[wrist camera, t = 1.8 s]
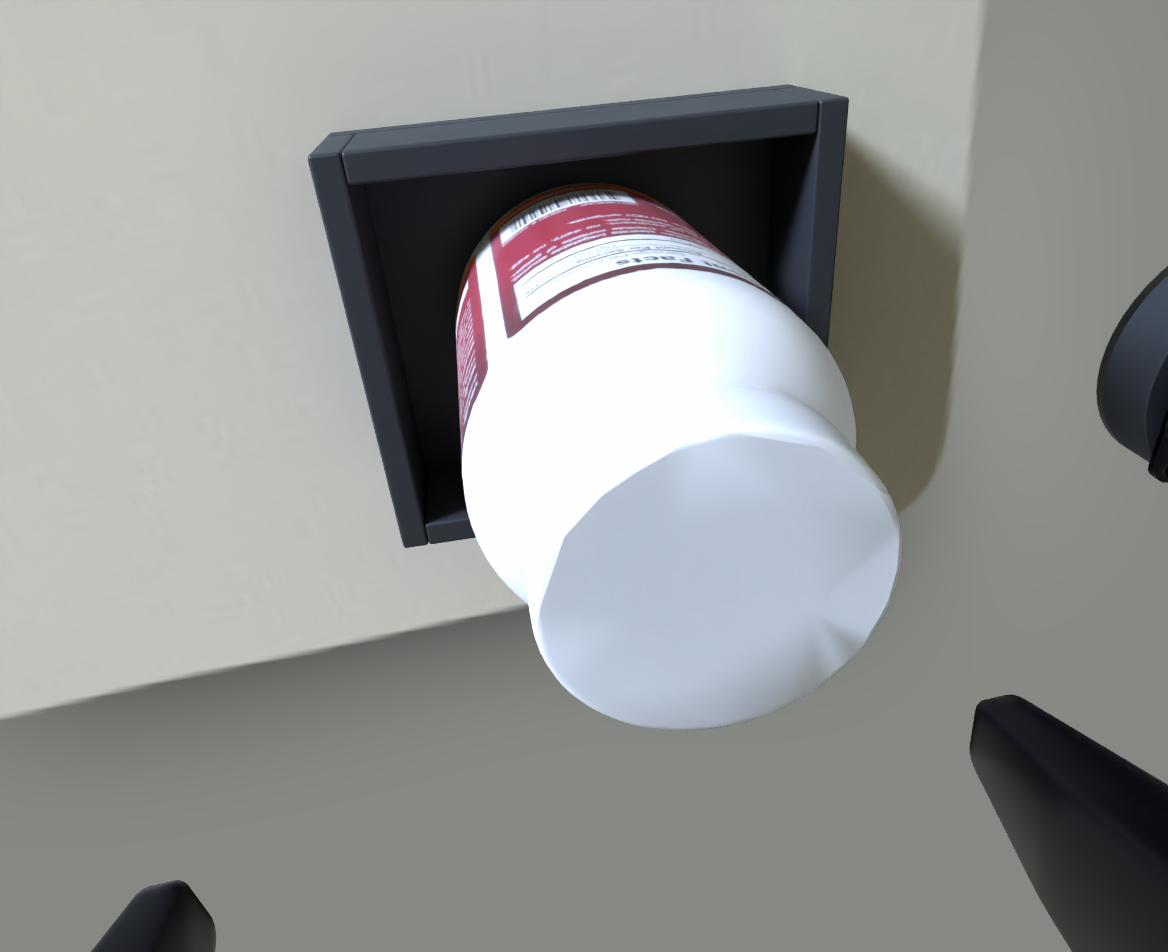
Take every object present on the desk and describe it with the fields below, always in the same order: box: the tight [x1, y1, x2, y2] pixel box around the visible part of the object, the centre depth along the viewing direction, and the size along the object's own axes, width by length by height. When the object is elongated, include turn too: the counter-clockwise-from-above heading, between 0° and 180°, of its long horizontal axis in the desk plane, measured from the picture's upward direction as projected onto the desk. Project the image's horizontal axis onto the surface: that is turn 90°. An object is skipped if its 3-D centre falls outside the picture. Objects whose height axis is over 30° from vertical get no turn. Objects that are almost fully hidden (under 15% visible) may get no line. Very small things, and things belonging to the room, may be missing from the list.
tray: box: [308, 85, 849, 548], centre depth 18 cm, size 10×9×3 cm
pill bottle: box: [455, 183, 903, 730], centre depth 14 cm, size 6×6×11 cm
